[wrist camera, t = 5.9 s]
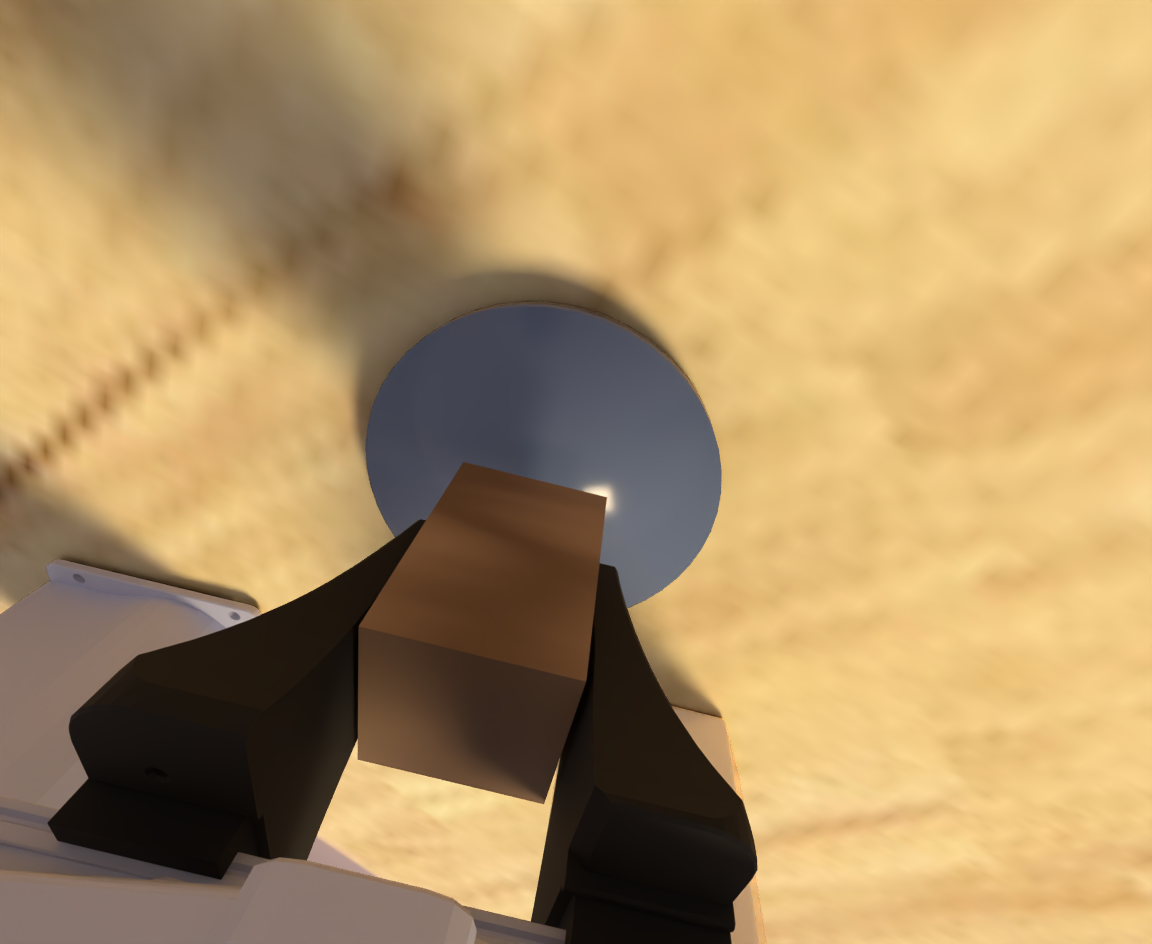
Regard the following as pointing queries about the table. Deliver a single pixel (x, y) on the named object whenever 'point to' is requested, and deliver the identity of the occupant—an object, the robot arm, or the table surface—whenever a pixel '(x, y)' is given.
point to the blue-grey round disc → (554, 429)
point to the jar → (719, 752)
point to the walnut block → (484, 635)
